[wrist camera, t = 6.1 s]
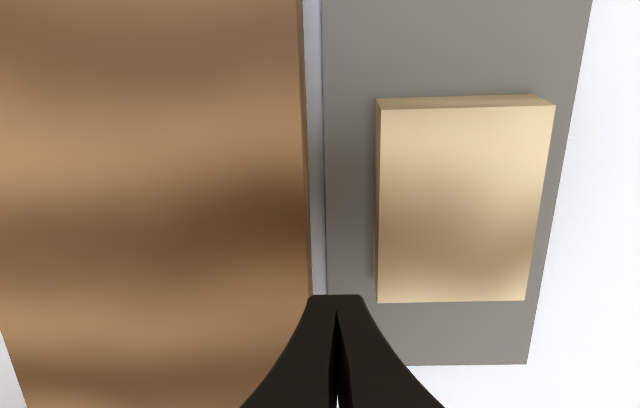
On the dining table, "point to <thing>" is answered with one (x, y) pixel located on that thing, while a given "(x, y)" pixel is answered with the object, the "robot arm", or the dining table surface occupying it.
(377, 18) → the rubber mat
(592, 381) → the dining table surface
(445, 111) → the birch tile
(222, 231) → the walnut deck
